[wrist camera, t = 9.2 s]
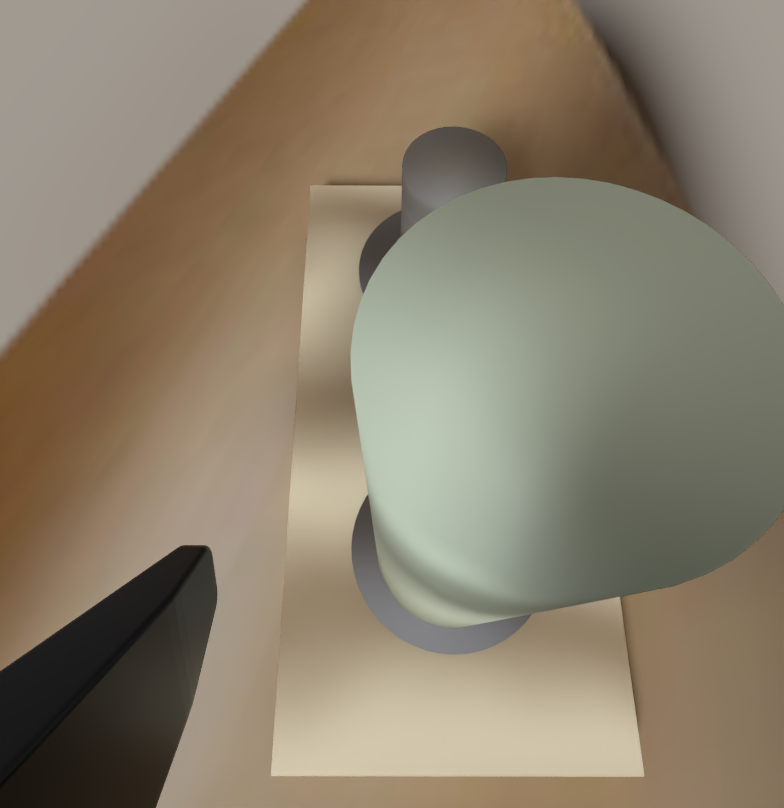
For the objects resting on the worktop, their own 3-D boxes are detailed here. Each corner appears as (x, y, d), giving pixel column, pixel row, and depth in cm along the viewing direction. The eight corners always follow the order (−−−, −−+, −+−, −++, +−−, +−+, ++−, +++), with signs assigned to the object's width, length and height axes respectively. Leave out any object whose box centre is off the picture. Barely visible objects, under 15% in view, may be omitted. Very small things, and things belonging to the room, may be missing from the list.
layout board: (627, 767, 17) (756, 838, 11) (278, 766, 17) (217, 836, 11) (556, 206, 24) (610, 66, 18) (314, 206, 24) (289, 65, 18)
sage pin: (549, 592, 17) (916, 478, 5) (411, 653, 17) (466, 683, 5) (485, 458, 19) (654, 132, 7) (356, 509, 18) (290, 250, 6)
